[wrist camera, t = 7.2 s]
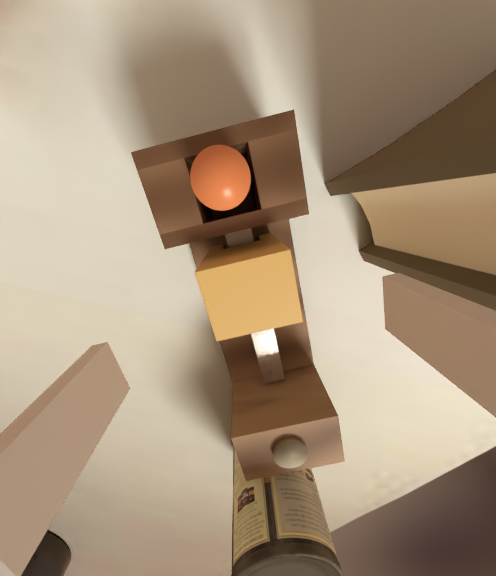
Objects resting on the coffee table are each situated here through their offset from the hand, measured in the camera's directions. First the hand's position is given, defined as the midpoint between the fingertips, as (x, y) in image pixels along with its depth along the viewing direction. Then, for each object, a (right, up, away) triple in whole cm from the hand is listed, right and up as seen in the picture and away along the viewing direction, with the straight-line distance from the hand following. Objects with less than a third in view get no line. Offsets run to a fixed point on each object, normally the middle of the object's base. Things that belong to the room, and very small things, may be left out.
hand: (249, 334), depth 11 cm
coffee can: (+3, -20, +24) cm, 31 cm away
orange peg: (-2, +10, +6) cm, 12 cm away
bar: (+1, 0, +15) cm, 15 cm away
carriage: (0, +5, +13) cm, 14 cm away
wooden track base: (+1, +1, +16) cm, 16 cm away
